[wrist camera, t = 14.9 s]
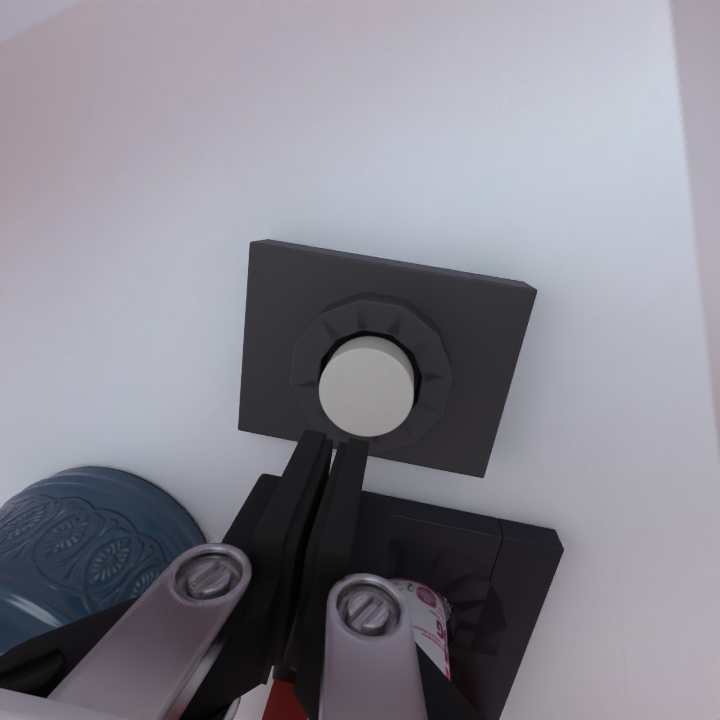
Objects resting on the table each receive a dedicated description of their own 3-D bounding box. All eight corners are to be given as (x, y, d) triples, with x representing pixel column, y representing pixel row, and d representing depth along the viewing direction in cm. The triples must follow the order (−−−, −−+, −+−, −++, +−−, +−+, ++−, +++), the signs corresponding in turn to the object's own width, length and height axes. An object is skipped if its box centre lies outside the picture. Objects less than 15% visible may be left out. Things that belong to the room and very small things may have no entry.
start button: (421, 344, 17) (422, 358, 16) (405, 424, 18) (404, 445, 17) (333, 328, 17) (324, 340, 16) (322, 408, 19) (313, 427, 17)
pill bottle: (459, 613, 26) (479, 790, 18) (391, 639, 27) (382, 815, 19) (417, 555, 25) (418, 714, 17) (349, 585, 26) (320, 746, 18)
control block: (525, 281, 19) (551, 297, 16) (477, 454, 22) (490, 503, 19) (266, 238, 20) (232, 243, 16) (253, 411, 23) (221, 449, 19)
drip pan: (555, 529, 23) (564, 549, 22) (491, 705, 28) (495, 731, 26) (300, 477, 24) (293, 494, 23) (279, 656, 29) (271, 679, 27)
